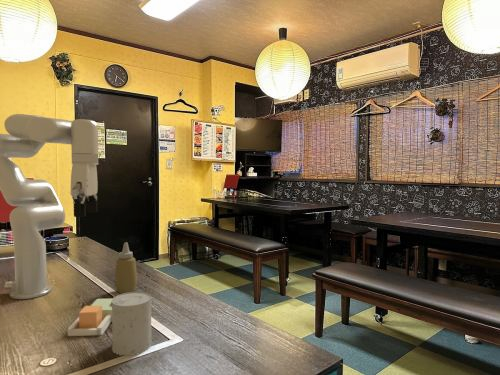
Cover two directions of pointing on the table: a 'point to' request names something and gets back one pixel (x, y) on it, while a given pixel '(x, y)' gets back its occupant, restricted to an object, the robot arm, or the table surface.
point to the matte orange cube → (90, 317)
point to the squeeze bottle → (125, 271)
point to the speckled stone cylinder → (131, 323)
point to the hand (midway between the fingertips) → (86, 214)
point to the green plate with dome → (106, 320)
